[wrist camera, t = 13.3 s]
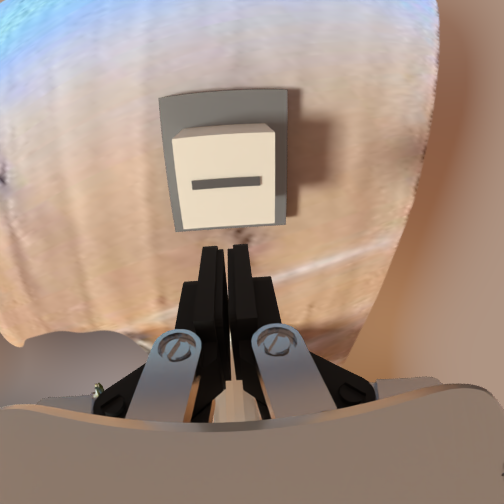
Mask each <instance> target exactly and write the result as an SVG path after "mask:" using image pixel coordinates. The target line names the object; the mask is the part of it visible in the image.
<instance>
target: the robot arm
mask: <svg viewBox="0 0 504 504" xmlns="http://www.w3.org/2000/svg"><path fill="white" fill-rule="evenodd" d="M213 415H214V423H212V421H213ZM0 504H504V409H503V408H502V406H501V404H500V403H499V402H498V400H497V399H496V398H495V397H494V396H493V395H492V394H491V393H490V392H489V391H487V389H485V388H483V387H480V386H476V385H471V384H442V383H441V382H440V381H439V380H438V379H435V378H433V377H415V378H400V379H377V380H376V382H375V383H369V382H368V381H367V380H365V379H364V378H362V377H360V376H358V375H356V374H354V373H351V372H349V371H347V370H345V369H343V368H341V367H339V366H337V365H335V364H333V363H331V362H329V361H327V360H325V359H323V358H321V357H319V356H317V355H315V354H313V353H312V352H310V351H309V350H308V348H307V346H306V344H305V342H304V340H303V338H302V336H301V335H300V333H299V332H298V331H297V330H296V329H294V328H293V327H291V326H288V325H286V324H282V323H281V319H280V314H279V310H278V305H277V301H276V297H275V292H274V288H273V284H272V279H271V277H270V276H268V277H254V278H252V274H251V266H250V259H249V252H248V244H238V245H233V249H228V292H227V283H226V273H225V262H224V252H223V249H220V250H218V247H217V246H208V247H203V249H202V256H201V263H200V270H199V277H198V281H189V282H184V283H183V287H182V292H181V298H180V303H179V308H178V314H177V320H176V325H175V329H174V330H171V331H168V332H166V333H164V334H162V335H161V336H160V337H158V338H157V340H156V341H155V343H154V344H153V347H152V349H151V352H150V354H149V357H148V359H147V362H146V363H145V364H144V365H142V366H141V367H140V368H138V369H137V370H135V371H133V372H132V373H130V374H129V375H128V376H126V377H125V378H123V379H121V380H120V381H118V382H117V383H115V384H114V385H112V386H111V387H109V388H108V389H106V390H105V391H103V392H102V393H101V394H100V395H99V396H98V397H93V395H82V396H67V397H48V398H43V399H42V400H40V401H39V402H38V403H37V404H36V405H33V404H18V405H11V406H5V407H1V408H0Z"/></svg>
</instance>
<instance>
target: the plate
mask: <svg viewBox="0 0 504 504" xmlns="http://www.w3.org/2000/svg"><path fill="white" fill-rule="evenodd" d="M159 110H160V121H161V131H162V140H163V149H164V157H165V165H166V173H167V180H168V187H169V194H170V201H171V207H172V213H173V219H174V225H175V231H176V232H183V231H196V230H210V229H224V228H240V227H256V226H273V225H286V197H287V130H288V107H287V90H284V89H254V90H228V91H214V92H202V93H192V94H184V95H176V96H169V97H162V98H159ZM256 123H265V124H266V125H267V126H269V127H270V128H271V129H272V130H273V131H274V132H275V223H271V224H254V225H238V226H222V227H208V228H194V229H183V222H182V216H181V209H180V202H179V195H178V188H177V180H176V172H175V164H174V155H173V146H172V139H173V138H174V137H175V136H176V135H177V134H178V133H179V132H180V131H181V130H183V129H185V128H194V127H205V126H217V125H233V124H256Z"/></svg>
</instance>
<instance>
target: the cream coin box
mask: <svg viewBox="0 0 504 504" xmlns="http://www.w3.org/2000/svg"><path fill="white" fill-rule="evenodd" d="M172 146H173V155H174V164H175V172H176V180H177V188H178V195H179V202H180V209H181V216H182V222H183V229H194V228H208V227H222V226H238V225H254V224H271V223H275V132H274V131H273V130H272V129H271V128H270V127H269V126H267V125H266V124H265V123H256V124H233V125H217V126H205V127H194V128H185V129H183V130H181V131H180V132H179V133H178V134H177V135H176V136H175V137H174V138H173V139H172Z"/></svg>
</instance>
